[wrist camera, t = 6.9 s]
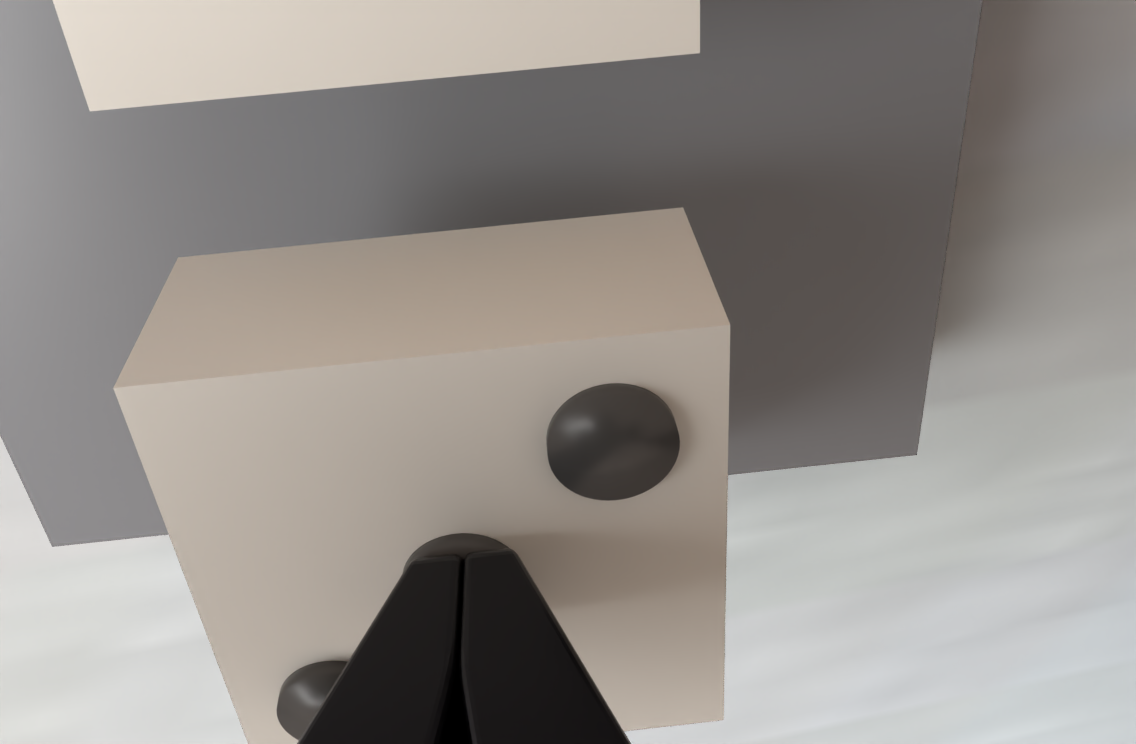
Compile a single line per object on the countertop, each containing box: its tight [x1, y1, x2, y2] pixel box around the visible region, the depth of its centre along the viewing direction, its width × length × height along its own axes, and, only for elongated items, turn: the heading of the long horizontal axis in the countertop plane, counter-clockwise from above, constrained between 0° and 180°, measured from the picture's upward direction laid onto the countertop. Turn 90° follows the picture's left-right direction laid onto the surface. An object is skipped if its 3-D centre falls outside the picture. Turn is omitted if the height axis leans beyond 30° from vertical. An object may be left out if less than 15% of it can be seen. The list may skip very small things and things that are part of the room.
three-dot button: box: [113, 207, 730, 744], centre depth 9 cm, size 4×4×2 cm
